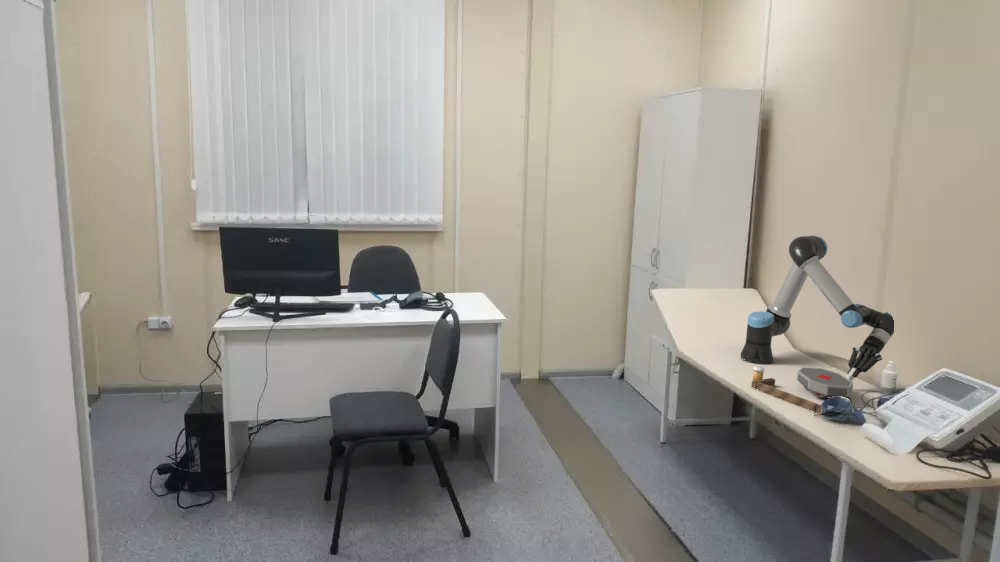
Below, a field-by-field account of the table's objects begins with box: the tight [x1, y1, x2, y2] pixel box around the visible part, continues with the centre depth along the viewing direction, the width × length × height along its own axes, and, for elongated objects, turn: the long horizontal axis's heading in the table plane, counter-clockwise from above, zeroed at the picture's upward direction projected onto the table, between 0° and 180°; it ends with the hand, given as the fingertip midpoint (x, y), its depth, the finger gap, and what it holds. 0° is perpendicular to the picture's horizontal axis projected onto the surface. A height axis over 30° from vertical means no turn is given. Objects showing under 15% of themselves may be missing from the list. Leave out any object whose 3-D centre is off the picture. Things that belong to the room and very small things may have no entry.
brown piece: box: [750, 377, 823, 414], centre depth 266 cm, size 33×12×3 cm, turn 28°
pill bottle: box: [752, 366, 765, 381], centre depth 283 cm, size 4×4×7 cm
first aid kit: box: [796, 366, 854, 399], centre depth 274 cm, size 18×8×25 cm
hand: (847, 381), depth 281 cm, fingers closed
